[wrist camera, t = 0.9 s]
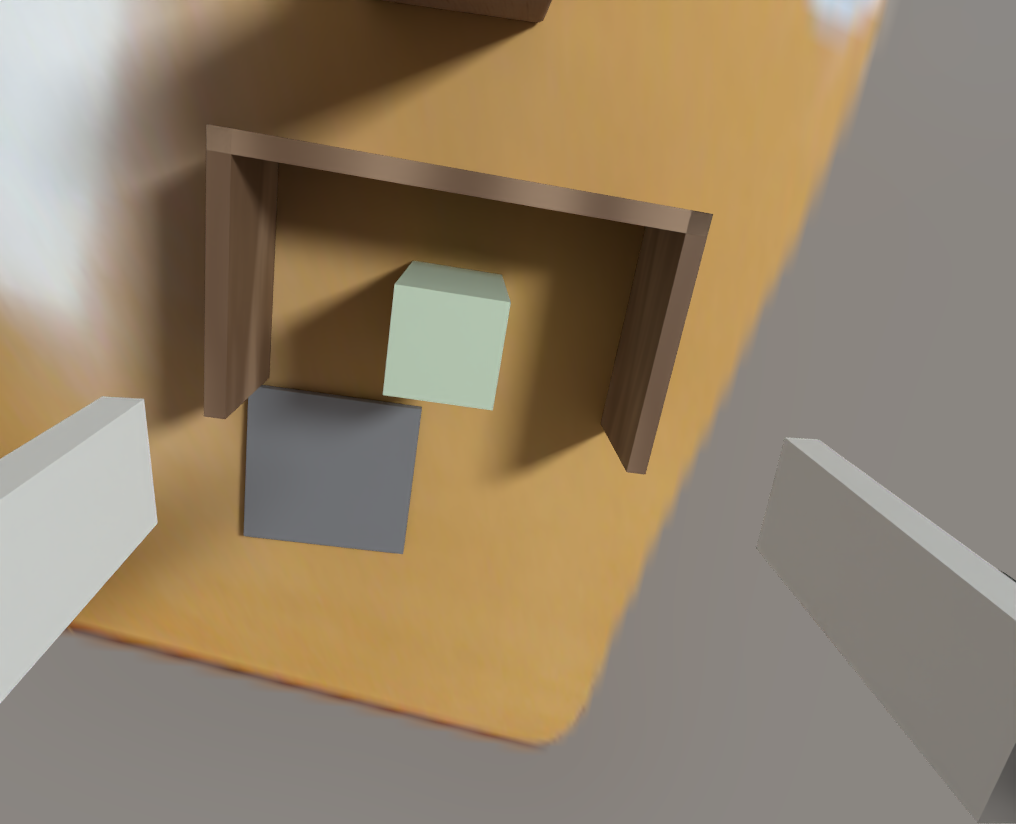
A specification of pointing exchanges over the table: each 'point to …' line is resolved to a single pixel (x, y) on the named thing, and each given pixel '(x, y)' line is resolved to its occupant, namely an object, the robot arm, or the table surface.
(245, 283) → the cubby
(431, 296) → the block
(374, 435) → the mat
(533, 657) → the table surface
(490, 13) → the wooden block
